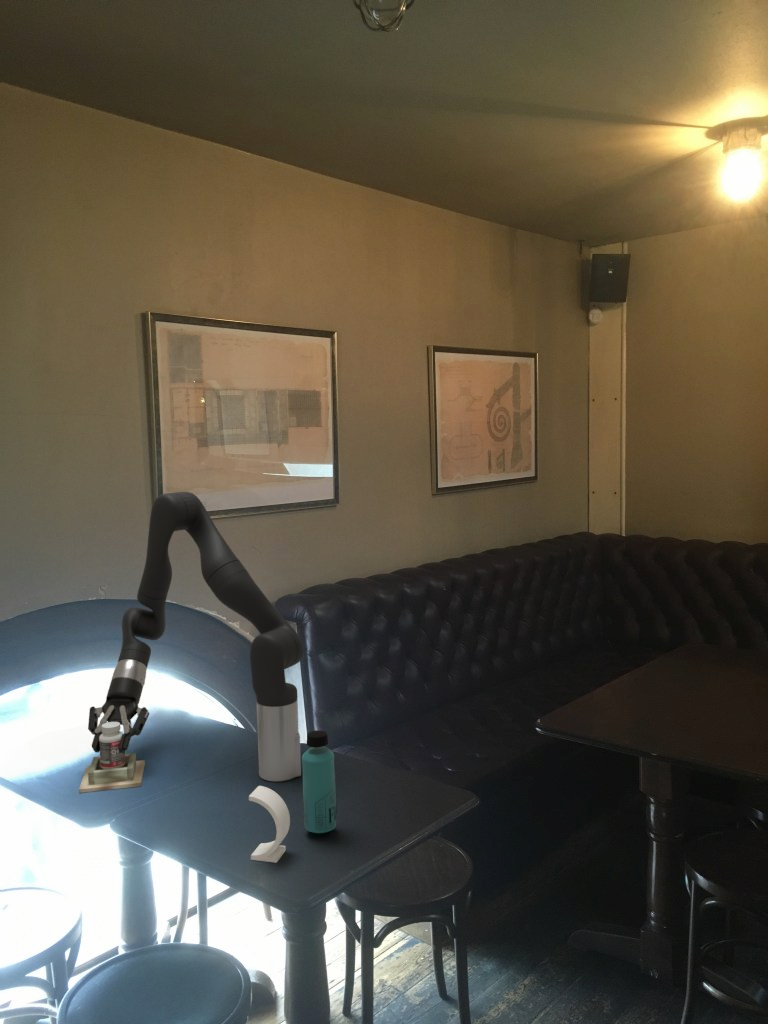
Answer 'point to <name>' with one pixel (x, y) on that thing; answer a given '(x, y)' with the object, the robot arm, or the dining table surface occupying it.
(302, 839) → the dining table surface
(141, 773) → the holder
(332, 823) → the beverage bottle
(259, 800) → the headphone stand
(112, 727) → the pill bottle
